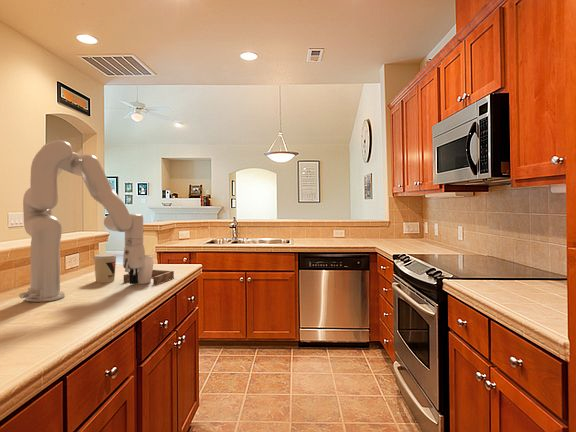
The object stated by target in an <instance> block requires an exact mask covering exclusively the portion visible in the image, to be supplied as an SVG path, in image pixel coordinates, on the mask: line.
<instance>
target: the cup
mask: <svg viewBox="0 0 576 432" xmlns="http://www.w3.org/2000/svg"><path fill="white" fill-rule="evenodd" d="M144 262H145V266H143V267H140V270H139V274H137V275H138V283H137V284H136V285H141V284H142V285H144V284H150V283H152V278H153V277H152V270H154V269H153V268H154V262H155V261H154V256H153V255H150V254H149V255H148V254H145V261H144Z"/></svg>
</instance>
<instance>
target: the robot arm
mask: <svg viewBox="0 0 576 432" xmlns="http://www.w3.org/2000/svg"><path fill="white" fill-rule="evenodd" d="M59 169H61V170H63V171H65V172H67V173H71V174H72V175H75V176H80V177H81V179H82V180H83V182H84V184H85V187H86V188H87V190H88V193H89V194H90V196H91V197H92V198H93V199H94V200H95V201H96V202H98V203H99V204H101V206H102V207H103V208H104V209H105V211H106V212H107V214H108V215H107V216H105V218H104V220H103V225H104V227H105V228H106V229H107V230H108V231H111V232H117V233H124V248H123V256H122V258H123V259H122V267H123V268H124V272H125V273H127V274H129V282H128V284H130V285H138V284H137V283H138V275H137V274H139V270H140V267H143V266H145V262H144V261H145V255H146V252H145V246H144V216H143V215H142V214H140V213H129V210H128V208H127V206H126V204H125V203H124V201H123V200H122V199H121V197H120V196H119V195H118V193H117V192H116V191H115V190H114V188H113V187H112V185H111V183H110V180H109V179H108V177H107V175H106V173H105V170H104V168H103V166H102V164H101V162H100V161H99V159H98V158H97V157H96V156H95V155H92V154H82V155H81V154H79V153H77V152H74V151H73V147H72V145H71V144H70V143H69V142H67V141H65V140H61V139H60V140H59V139H58V140H57V139H56V140H52V141H51V142H48V143H45V144H44V145H43V146H42V147H41V148H40V149H39V151H37V152H36V154H35V155H34V158H33V159H32V162H31V166H30V180H29V181H30V182H29V183H30V186H29V188H28V189H26V191H25V193H24V195H23V200H22V205H23V206H22V207H23V208H22V211H23V214H22V215H23V227H24V231H25V232H26V234H28V235H29V236H30V237H31V238H30V239H31V241H30V251H29V255H30V256H29V257H30V287H29V288H27V291H26V292H21V293H19V296H18V297H19V298H20V299H25V301H27V302H30V303H42V302H52V301H57V300H60V299H63V298H65V292H62V291H61V242H62V241H61V239H62V234H63V231H62V230H63V229H62V224H61V222H60V220H59V219H58V218H57V217H55V216H54V215H52V210H53V209H54V208H56V207H57V205H58V202H59V195H58V172H59Z"/></svg>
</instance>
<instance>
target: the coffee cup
mask: <svg viewBox="0 0 576 432" xmlns="http://www.w3.org/2000/svg"><path fill="white" fill-rule="evenodd" d="M93 259H94V274H95V276H94V277H95V282H96V283H97V284H99V283H100V284H101V283H102V284H103V283H104V284H105V283H113V282H115V277H116V275H115V274H116V265H117V264H116V262H117V255H116V254H114V253H102V254H95V255H94V257H93Z"/></svg>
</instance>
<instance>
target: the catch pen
mask: <svg viewBox="0 0 576 432" xmlns="http://www.w3.org/2000/svg"><path fill="white" fill-rule="evenodd" d="M174 273H175V271H174V270H163V269H153V270H152V277H151V278H153V282H152V284H153V286H157V285H159V283H160V284H163V283H164V282H167V280H168V281H170V280H172V278H173V279H174V278H175V277H174V276H175V275H174ZM169 279H170V280H169ZM123 283H125V284H126V283H129V274H128V273H126V274H123Z"/></svg>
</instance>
